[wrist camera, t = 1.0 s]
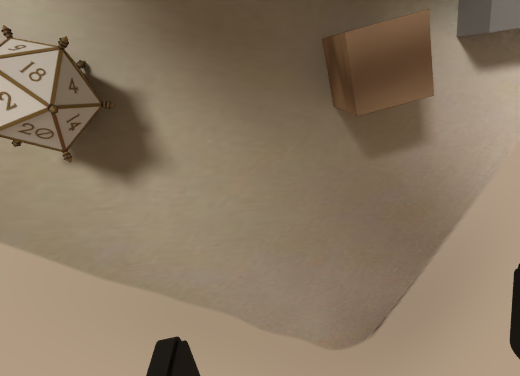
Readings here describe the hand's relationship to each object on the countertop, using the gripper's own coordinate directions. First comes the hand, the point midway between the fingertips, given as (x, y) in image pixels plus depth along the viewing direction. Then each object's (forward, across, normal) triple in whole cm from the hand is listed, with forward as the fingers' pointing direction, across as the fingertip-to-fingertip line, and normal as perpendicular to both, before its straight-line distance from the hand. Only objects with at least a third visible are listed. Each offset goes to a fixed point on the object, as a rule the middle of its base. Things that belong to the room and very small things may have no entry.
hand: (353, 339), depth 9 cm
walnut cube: (+22, -8, -6) cm, 24 cm away
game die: (+22, +16, -9) cm, 28 cm away
